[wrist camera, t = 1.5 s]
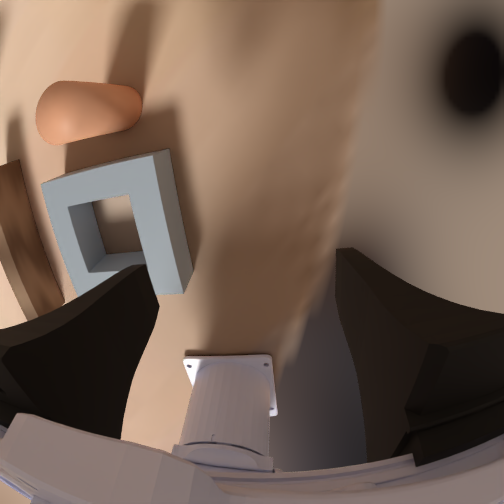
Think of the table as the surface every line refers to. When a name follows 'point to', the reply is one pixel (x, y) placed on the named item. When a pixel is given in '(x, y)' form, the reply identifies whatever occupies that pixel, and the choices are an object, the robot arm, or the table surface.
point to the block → (145, 213)
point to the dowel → (85, 110)
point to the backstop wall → (24, 248)
